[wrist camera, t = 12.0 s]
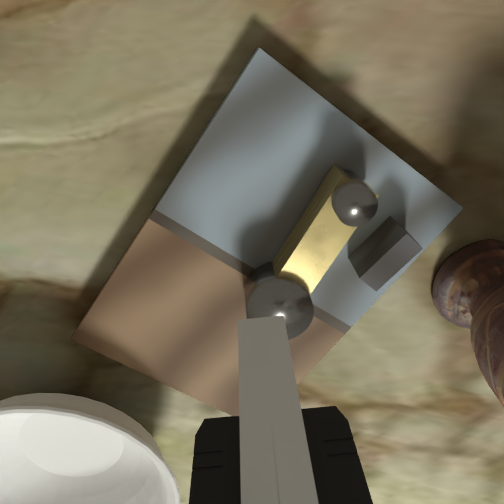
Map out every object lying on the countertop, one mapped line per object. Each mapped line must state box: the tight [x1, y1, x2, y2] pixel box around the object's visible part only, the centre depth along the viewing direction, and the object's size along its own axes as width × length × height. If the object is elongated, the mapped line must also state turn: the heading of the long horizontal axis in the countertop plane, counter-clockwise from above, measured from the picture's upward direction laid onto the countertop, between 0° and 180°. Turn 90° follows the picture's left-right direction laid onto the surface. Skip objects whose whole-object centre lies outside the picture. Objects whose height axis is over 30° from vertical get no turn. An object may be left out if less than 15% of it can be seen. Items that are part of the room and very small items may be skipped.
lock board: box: [70, 47, 463, 416], centre depth 31 cm, size 17×24×5 cm
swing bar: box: [244, 165, 379, 340], centre depth 28 cm, size 12×4×4 cm, turn 151°
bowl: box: [0, 393, 180, 504], centre depth 36 cm, size 20×20×6 cm
